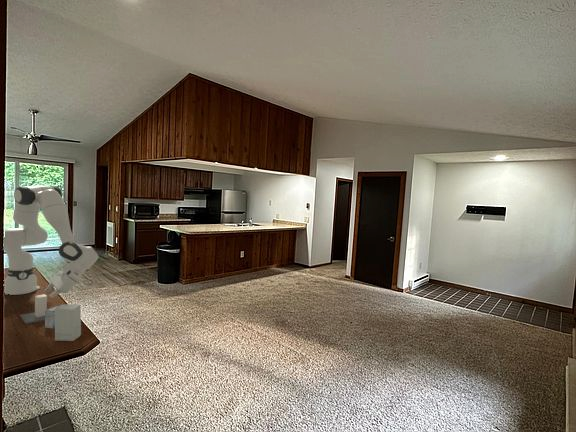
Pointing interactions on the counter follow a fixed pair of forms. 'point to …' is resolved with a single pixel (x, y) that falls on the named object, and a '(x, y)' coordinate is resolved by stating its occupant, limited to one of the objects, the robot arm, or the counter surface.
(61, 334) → the skincare box
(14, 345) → the counter surface
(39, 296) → the cream block
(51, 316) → the medicine box
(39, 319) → the mat
